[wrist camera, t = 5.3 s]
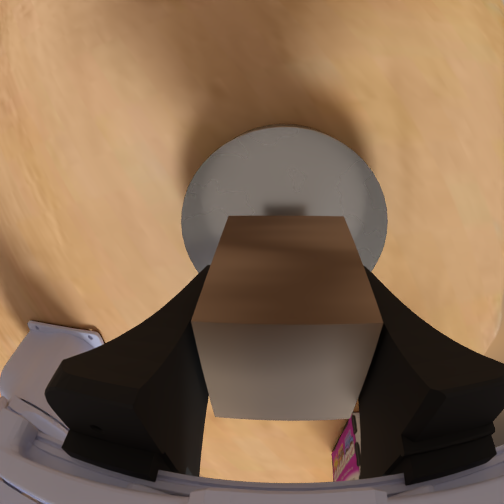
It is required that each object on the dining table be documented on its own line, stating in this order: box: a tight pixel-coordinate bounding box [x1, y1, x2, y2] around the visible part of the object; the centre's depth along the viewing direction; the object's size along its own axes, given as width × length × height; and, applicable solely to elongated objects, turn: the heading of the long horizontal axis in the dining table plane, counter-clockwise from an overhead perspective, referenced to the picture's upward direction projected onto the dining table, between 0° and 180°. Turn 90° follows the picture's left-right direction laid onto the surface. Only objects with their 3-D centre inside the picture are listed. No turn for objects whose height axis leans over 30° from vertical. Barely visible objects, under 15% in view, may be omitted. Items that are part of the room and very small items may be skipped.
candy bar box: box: [331, 412, 361, 482], centre depth 23 cm, size 11×5×16 cm, turn 1°
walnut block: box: [191, 216, 383, 421], centre depth 11 cm, size 4×4×6 cm
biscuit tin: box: [181, 124, 388, 273], centre depth 17 cm, size 10×10×3 cm
